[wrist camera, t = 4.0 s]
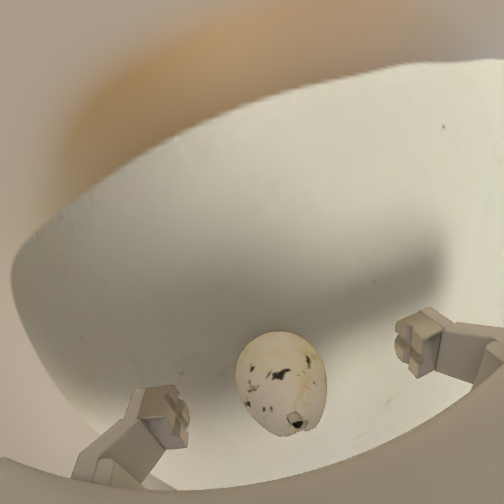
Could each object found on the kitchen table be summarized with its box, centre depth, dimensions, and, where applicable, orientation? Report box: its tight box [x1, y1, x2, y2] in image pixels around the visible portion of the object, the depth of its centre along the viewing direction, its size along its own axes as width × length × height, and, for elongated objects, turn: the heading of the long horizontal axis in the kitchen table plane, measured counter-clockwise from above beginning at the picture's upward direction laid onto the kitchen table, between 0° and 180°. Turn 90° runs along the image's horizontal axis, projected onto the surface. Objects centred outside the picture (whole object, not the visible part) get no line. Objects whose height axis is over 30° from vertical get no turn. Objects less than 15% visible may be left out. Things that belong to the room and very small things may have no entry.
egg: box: [235, 331, 327, 437], centre depth 8 cm, size 3×3×5 cm
